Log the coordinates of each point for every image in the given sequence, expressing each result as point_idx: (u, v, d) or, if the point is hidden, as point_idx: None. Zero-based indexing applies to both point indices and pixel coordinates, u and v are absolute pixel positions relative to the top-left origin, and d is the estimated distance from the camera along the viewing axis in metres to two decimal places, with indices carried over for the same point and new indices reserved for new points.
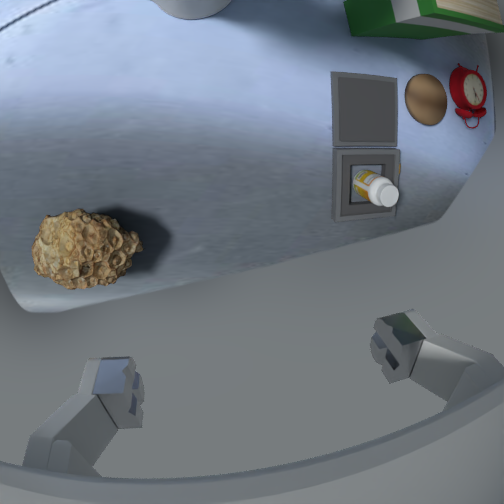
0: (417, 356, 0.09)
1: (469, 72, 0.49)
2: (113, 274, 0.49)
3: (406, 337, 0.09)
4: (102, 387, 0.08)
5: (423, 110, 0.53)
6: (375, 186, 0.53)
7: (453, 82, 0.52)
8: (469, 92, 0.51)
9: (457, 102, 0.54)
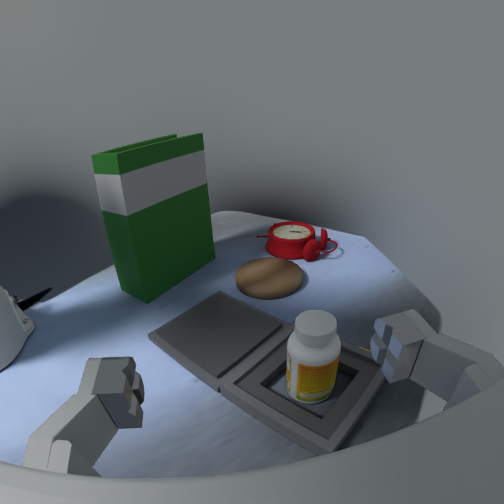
0: (417, 356, 0.09)
1: (271, 229, 0.64)
2: None
3: (406, 337, 0.09)
4: (102, 387, 0.08)
5: (274, 282, 0.51)
6: (293, 344, 0.30)
7: (274, 249, 0.62)
8: (291, 236, 0.62)
9: (298, 254, 0.60)
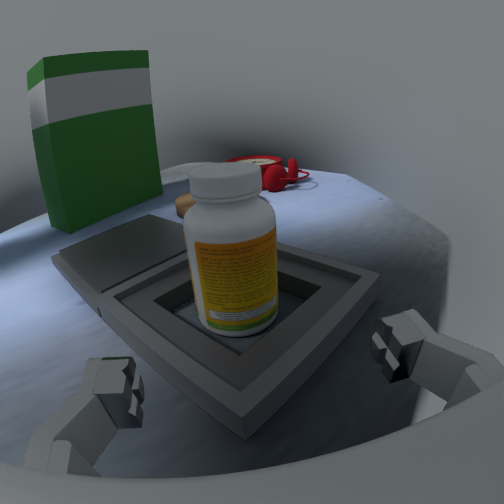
0: (417, 356, 0.09)
1: (229, 161, 0.52)
2: None
3: (406, 337, 0.09)
4: (102, 387, 0.08)
5: None
6: (189, 212, 0.18)
7: None
8: None
9: None
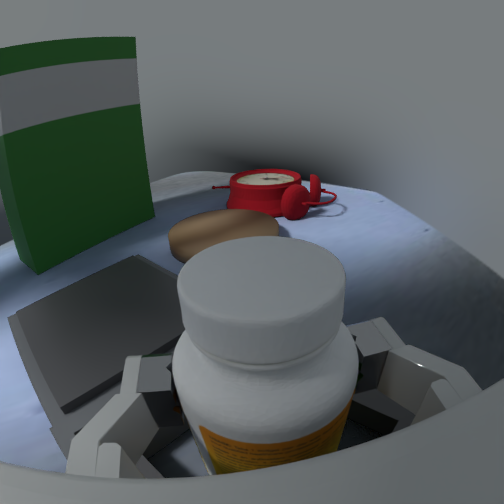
0: (383, 367, 0.09)
1: (235, 177, 0.42)
2: None
3: (369, 347, 0.09)
4: (146, 385, 0.08)
5: (228, 239, 0.29)
6: (183, 356, 0.08)
7: (237, 204, 0.39)
8: (263, 183, 0.39)
9: (274, 210, 0.38)
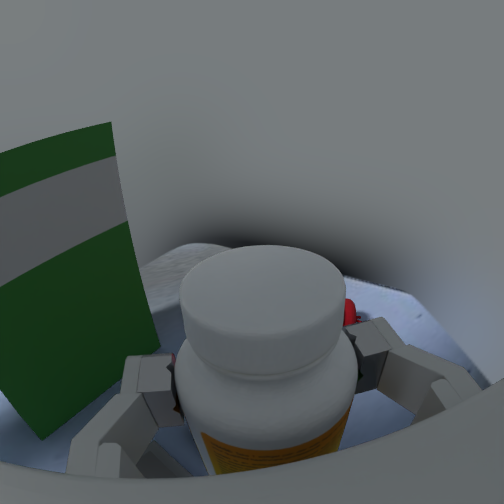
0: (383, 367, 0.09)
1: None
2: None
3: (369, 347, 0.09)
4: (146, 385, 0.08)
5: None
6: (186, 365, 0.08)
7: None
8: None
9: None
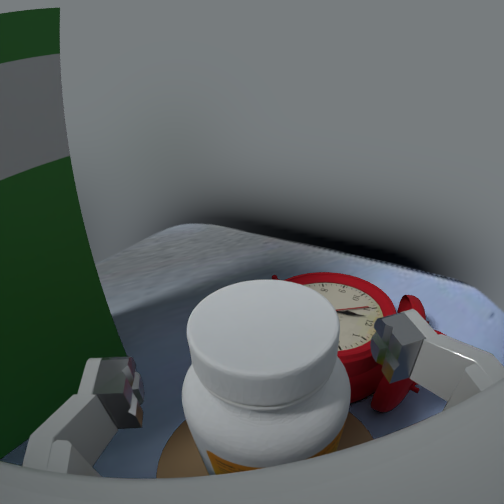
0: (417, 356, 0.09)
1: None
2: None
3: (406, 337, 0.09)
4: (102, 387, 0.08)
5: None
6: (192, 390, 0.09)
7: None
8: None
9: (353, 392, 0.17)
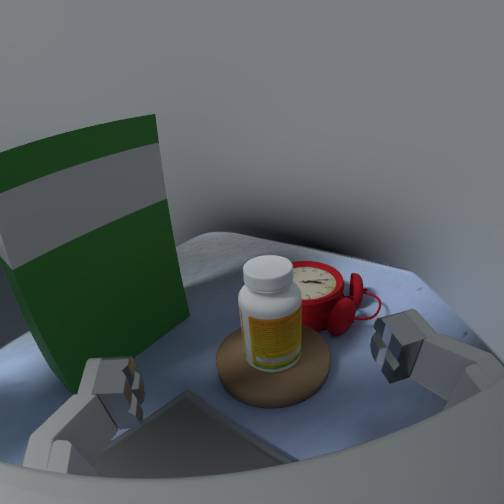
0: (417, 356, 0.09)
1: None
2: None
3: (406, 337, 0.09)
4: (102, 387, 0.08)
5: (283, 376, 0.27)
6: (243, 294, 0.26)
7: None
8: (305, 291, 0.36)
9: (318, 324, 0.34)
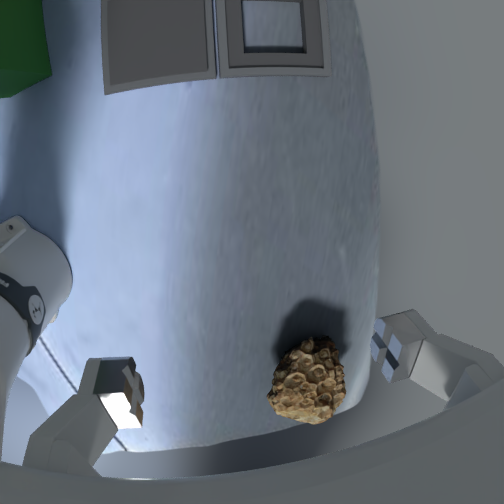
0: (417, 356, 0.09)
1: None
2: (332, 373, 0.48)
3: (406, 337, 0.09)
4: (102, 387, 0.08)
5: None
6: None
7: None
8: None
9: None
